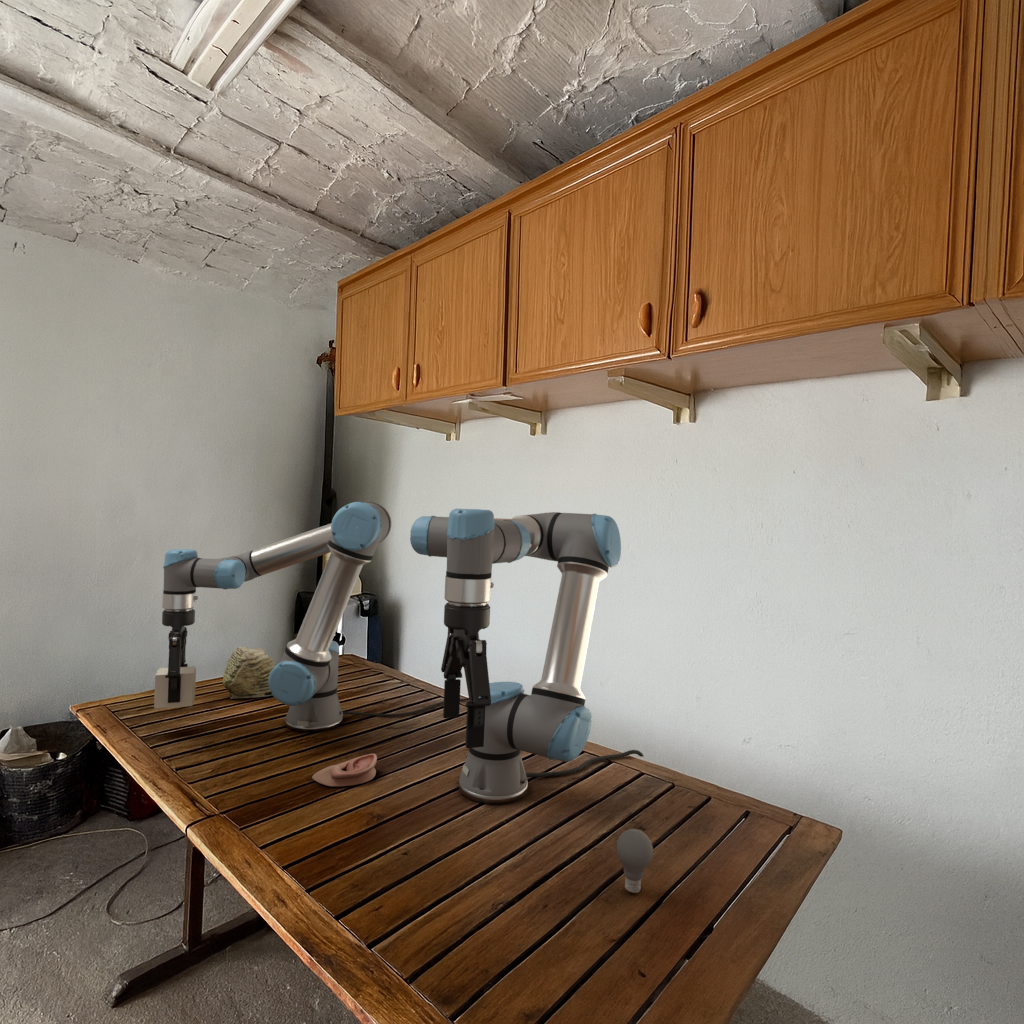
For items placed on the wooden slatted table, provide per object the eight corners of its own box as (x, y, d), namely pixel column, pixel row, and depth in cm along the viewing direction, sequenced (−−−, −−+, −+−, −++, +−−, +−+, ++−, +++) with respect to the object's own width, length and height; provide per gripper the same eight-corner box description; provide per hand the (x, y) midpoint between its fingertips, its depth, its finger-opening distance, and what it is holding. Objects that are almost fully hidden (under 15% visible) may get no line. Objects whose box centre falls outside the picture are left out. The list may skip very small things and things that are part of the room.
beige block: (153, 708, 159) (155, 675, 159) (158, 700, 165) (159, 667, 165) (192, 706, 162) (193, 673, 162) (195, 697, 169) (196, 666, 168)
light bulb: (610, 879, 108) (613, 822, 108) (644, 879, 109) (647, 822, 109) (619, 902, 102) (622, 840, 102) (655, 901, 103) (658, 840, 103)
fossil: (218, 695, 195) (220, 647, 195) (278, 685, 208) (279, 640, 207) (228, 703, 189) (230, 653, 188) (289, 692, 201) (290, 645, 201)
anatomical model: (305, 765, 139) (330, 745, 150) (304, 783, 139) (330, 762, 151) (361, 773, 137) (383, 752, 148) (360, 791, 137) (382, 769, 148)
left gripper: (191, 615, 156) (187, 708, 156) (198, 602, 174) (195, 685, 174) (156, 616, 153) (153, 711, 153) (168, 603, 171) (165, 687, 172)
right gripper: (516, 616, 94) (510, 758, 94) (467, 591, 117) (462, 705, 117) (467, 617, 91) (461, 764, 91) (427, 591, 114) (422, 708, 115)
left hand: (175, 697), depth 164 cm, fingers closed on beige block, 7 cm apart
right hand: (462, 731), depth 104 cm, fingers open, 13 cm apart
